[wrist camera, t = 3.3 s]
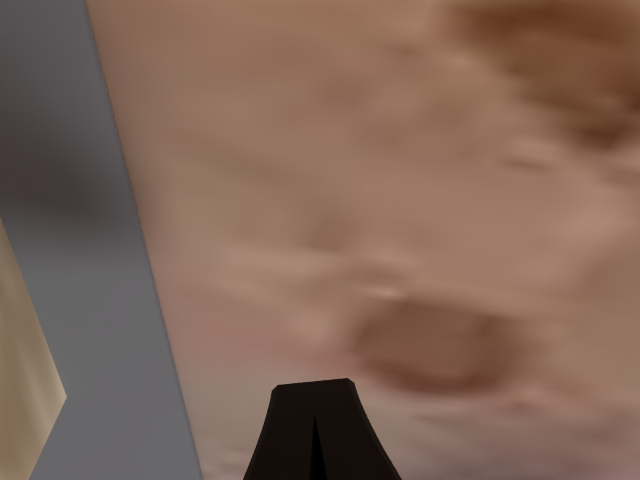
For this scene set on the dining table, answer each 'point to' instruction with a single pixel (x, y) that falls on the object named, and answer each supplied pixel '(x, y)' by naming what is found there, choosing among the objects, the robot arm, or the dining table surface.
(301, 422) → the robot arm
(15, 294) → the birch block
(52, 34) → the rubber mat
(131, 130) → the dining table surface
